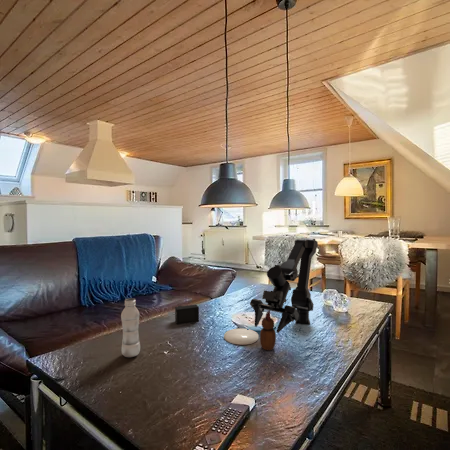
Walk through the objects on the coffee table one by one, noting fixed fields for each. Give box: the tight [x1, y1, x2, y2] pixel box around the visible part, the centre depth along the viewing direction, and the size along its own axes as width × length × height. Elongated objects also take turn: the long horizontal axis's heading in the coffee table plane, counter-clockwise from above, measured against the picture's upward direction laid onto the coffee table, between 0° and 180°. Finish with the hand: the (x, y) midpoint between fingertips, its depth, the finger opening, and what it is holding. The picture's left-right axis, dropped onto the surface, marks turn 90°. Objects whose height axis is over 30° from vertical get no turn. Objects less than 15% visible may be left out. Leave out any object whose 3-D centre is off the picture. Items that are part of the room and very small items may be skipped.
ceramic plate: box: [223, 327, 260, 346], centre depth 121 cm, size 14×14×1 cm
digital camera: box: [174, 304, 200, 325], centre depth 139 cm, size 10×5×7 cm, turn 111°
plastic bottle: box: [120, 298, 141, 358], centre depth 105 cm, size 6×7×20 cm
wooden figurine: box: [259, 310, 277, 351], centre depth 111 cm, size 7×6×15 cm
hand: (266, 329), depth 110 cm, fingers open, 9 cm apart
